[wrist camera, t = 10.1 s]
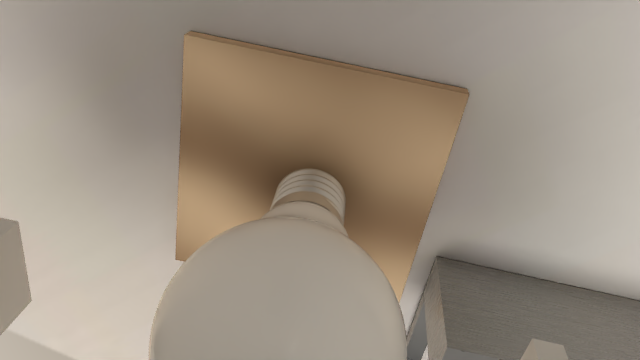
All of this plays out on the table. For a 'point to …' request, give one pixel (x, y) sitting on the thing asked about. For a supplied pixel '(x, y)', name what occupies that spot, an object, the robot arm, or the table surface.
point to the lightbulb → (282, 288)
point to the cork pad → (310, 143)
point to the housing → (517, 317)
